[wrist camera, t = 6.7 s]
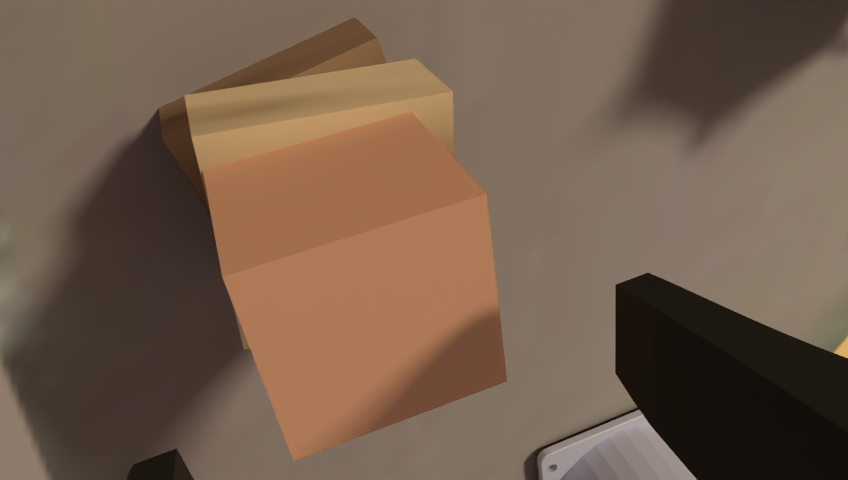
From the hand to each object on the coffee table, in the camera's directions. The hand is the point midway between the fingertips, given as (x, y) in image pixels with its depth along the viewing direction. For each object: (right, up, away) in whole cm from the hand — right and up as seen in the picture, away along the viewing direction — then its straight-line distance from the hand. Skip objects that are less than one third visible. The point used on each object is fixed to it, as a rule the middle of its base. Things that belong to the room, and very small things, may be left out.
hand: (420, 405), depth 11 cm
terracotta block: (-2, +3, +5) cm, 6 cm away
